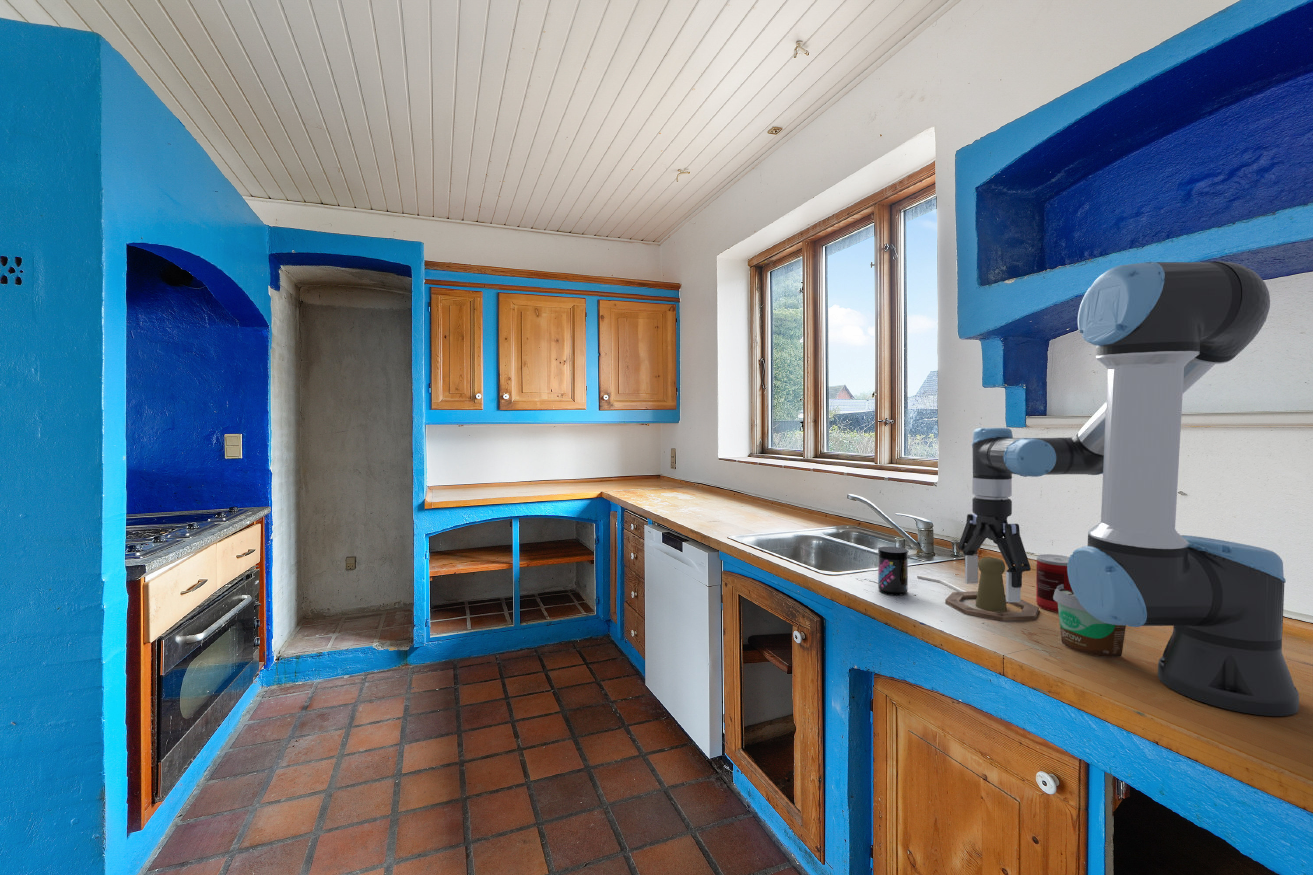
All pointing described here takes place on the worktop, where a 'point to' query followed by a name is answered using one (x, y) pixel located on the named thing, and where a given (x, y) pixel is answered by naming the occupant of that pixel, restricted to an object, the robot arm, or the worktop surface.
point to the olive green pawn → (991, 585)
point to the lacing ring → (1026, 614)
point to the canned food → (1050, 579)
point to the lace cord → (941, 582)
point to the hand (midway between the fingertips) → (991, 592)
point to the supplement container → (893, 570)
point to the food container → (1086, 628)
